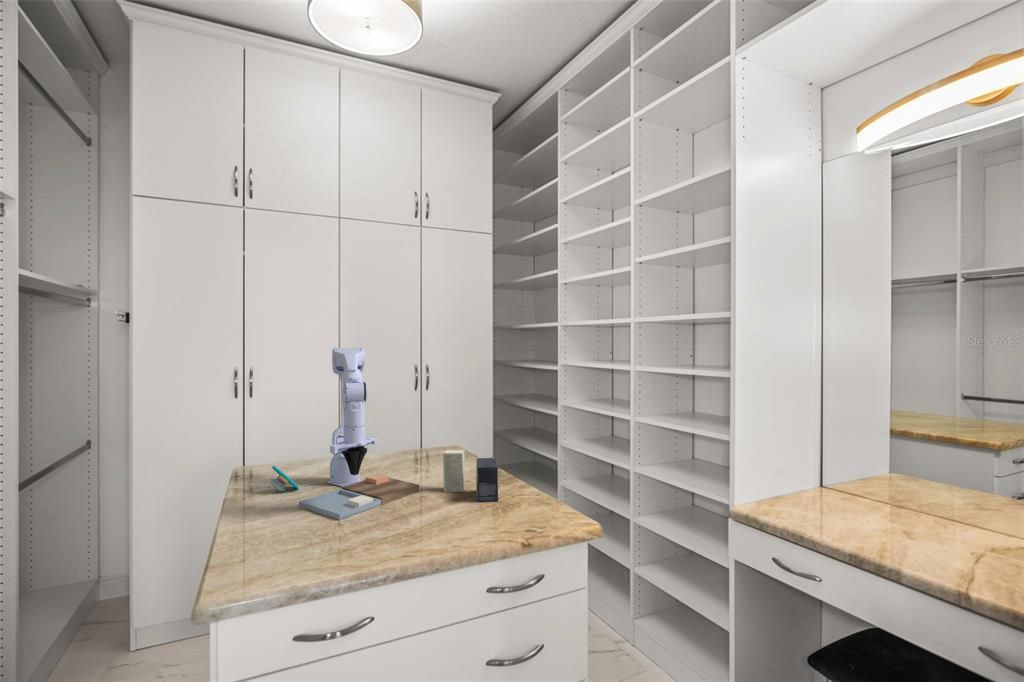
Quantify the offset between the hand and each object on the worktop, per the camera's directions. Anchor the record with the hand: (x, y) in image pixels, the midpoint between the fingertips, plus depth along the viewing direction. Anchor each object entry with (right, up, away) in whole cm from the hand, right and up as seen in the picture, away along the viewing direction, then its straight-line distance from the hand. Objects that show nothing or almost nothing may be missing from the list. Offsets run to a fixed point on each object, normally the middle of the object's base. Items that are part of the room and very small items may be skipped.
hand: (354, 474), depth 140 cm
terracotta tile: (+1, -7, +18) cm, 20 cm away
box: (-4, -9, +2) cm, 11 cm away
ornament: (-26, -9, +15) cm, 32 cm away
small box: (+37, -10, +11) cm, 39 cm away
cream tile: (+1, -9, +2) cm, 9 cm away
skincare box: (+26, -10, +16) cm, 32 cm away
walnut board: (+4, -9, +14) cm, 17 cm away
